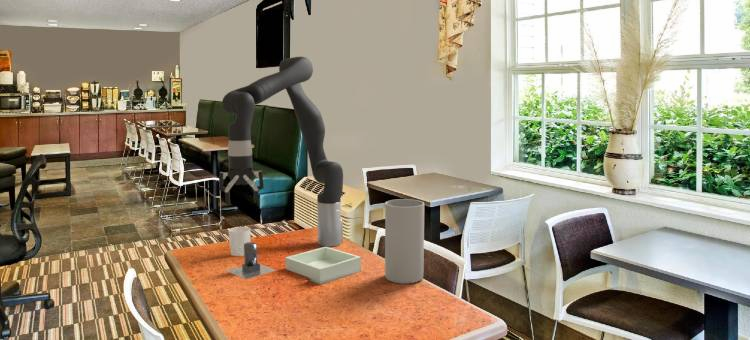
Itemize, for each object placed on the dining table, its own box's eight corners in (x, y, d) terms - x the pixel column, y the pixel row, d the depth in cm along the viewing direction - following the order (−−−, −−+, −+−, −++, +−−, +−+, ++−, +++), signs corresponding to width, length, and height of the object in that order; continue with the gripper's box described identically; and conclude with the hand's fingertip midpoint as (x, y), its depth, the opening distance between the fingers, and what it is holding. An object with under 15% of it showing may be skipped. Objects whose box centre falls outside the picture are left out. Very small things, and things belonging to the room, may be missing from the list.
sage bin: (325, 259, 195) (325, 246, 194) (361, 271, 182) (360, 256, 182) (285, 271, 182) (285, 257, 181) (320, 284, 169) (320, 269, 169)
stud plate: (256, 265, 188) (256, 256, 188) (276, 273, 180) (276, 264, 180) (225, 273, 180) (225, 264, 179) (245, 282, 172) (245, 272, 171)
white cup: (225, 257, 197) (224, 231, 196) (238, 251, 205) (237, 226, 203) (242, 260, 195) (242, 233, 193) (255, 254, 202) (254, 228, 200)
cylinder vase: (412, 287, 167) (412, 208, 164) (377, 280, 174) (377, 204, 170) (429, 275, 178) (430, 201, 174) (396, 269, 184) (397, 197, 181)
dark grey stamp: (253, 267, 183) (252, 241, 182) (260, 270, 180) (259, 243, 179) (242, 270, 180) (241, 243, 179) (249, 273, 177) (248, 246, 176)
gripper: (262, 152, 181) (263, 199, 183) (218, 153, 177) (220, 201, 180) (262, 154, 173) (264, 203, 176) (217, 155, 170) (219, 206, 172)
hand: (242, 202), depth 178 cm, fingers open, 8 cm apart
